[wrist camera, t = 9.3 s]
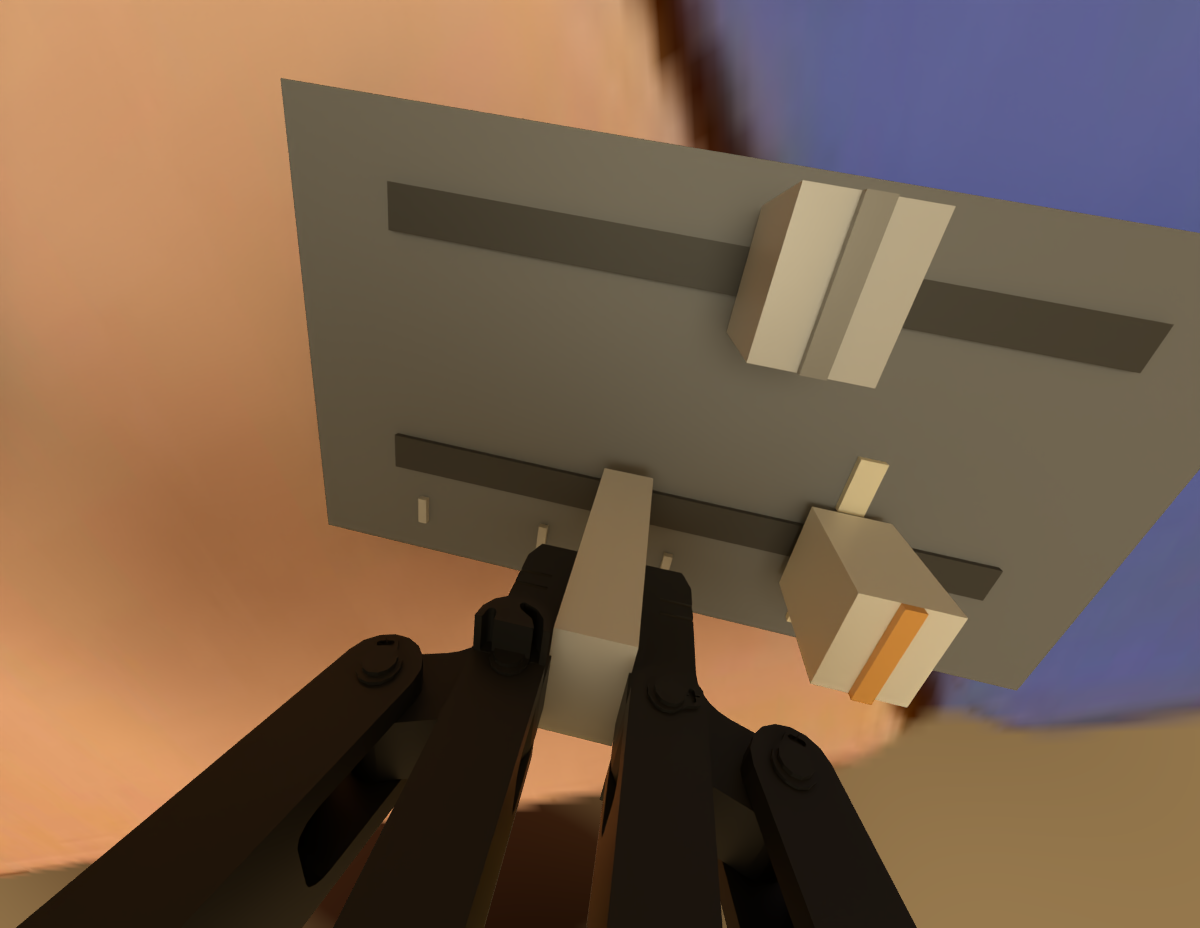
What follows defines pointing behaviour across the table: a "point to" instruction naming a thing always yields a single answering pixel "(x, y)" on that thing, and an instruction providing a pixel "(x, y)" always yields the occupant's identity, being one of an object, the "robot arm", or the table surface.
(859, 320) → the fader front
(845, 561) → the fader back
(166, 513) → the table surface
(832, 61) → the table surface
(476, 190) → the console
